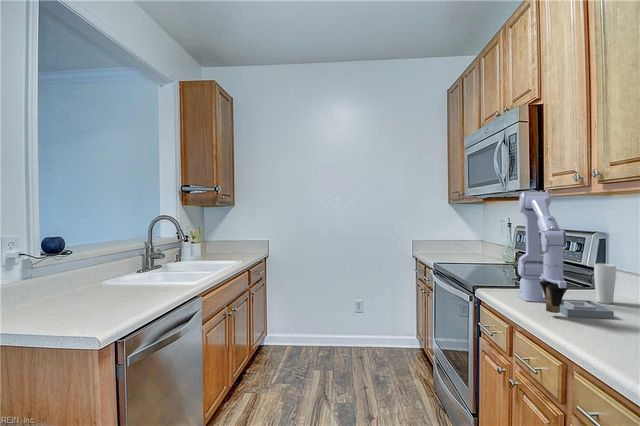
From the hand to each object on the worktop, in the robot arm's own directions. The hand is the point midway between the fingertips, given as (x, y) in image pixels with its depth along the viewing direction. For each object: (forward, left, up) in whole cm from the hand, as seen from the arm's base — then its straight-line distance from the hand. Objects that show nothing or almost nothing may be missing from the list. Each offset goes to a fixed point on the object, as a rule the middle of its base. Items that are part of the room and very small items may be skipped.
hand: (552, 304), depth 121 cm
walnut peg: (0, 0, -2) cm, 2 cm away
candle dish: (-8, +12, -4) cm, 15 cm away
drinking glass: (-23, +28, -5) cm, 36 cm away
